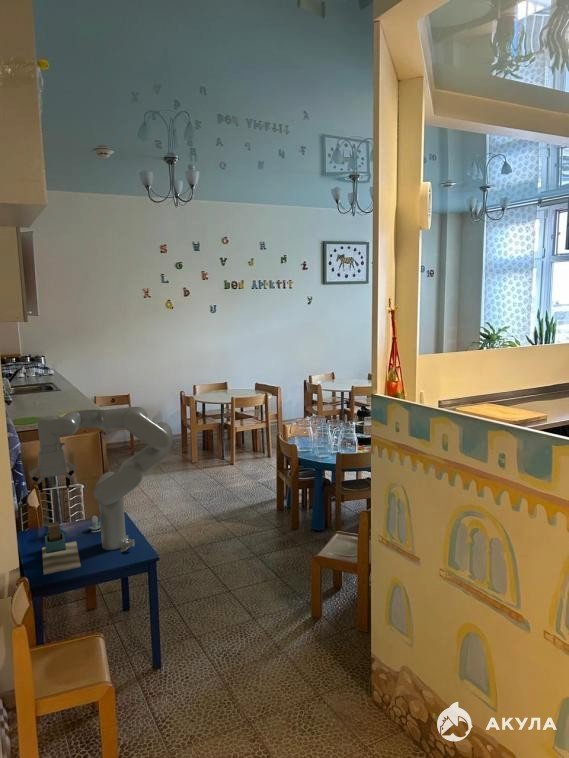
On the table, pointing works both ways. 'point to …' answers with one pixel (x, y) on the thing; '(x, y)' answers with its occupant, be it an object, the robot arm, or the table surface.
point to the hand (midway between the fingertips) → (54, 489)
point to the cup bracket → (55, 544)
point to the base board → (61, 559)
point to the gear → (60, 529)
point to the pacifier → (95, 525)
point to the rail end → (54, 531)
